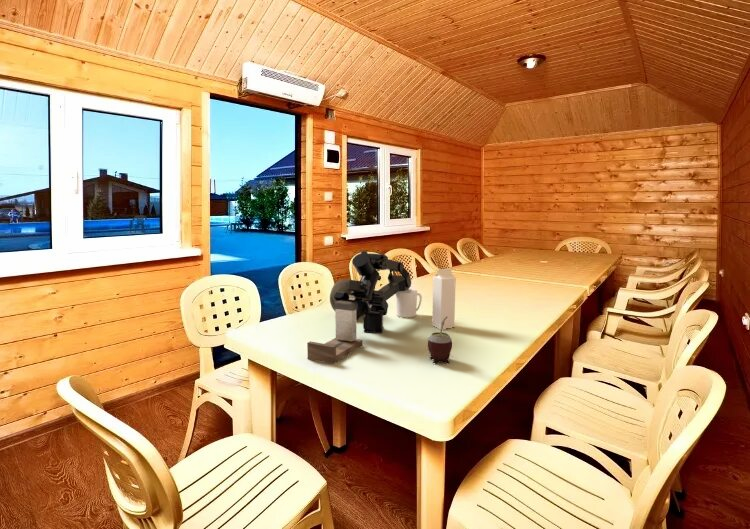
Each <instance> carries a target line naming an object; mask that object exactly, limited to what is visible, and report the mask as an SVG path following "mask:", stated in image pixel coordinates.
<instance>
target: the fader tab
mask: <svg viewBox="0 0 750 529" xmlns="http://www.w3.org/2000/svg"><path fill="white" fill-rule="evenodd" d="M334 309H335V311H334V312H335V314H334V315H335V338H336V339H339V340H345V341H351V342H352V341H354V340H356V339H358V338H357V321H356V310H357V309H358V303H355V302H346V301H337V302H334Z"/></svg>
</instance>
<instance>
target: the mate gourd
mask: <svg viewBox="0 0 750 529" xmlns="http://www.w3.org/2000/svg"><path fill="white" fill-rule="evenodd" d="M446 319H447V317H445V318H444V319H443V321H442V323H441V330H439V331H437V332H433V333H431V334H430V335H429V337H428V339H427V349H428V351H429V354H430V357H429V359H430V358H431V359H430V360H432V359H434V360H433V361H432V364H433V363H437V362H439V361H442V362H441V363H443V362H446V363H449V364H450V361H449V359H450V356H451V352H452V349H453V348H452V347H453V342H452V337H451V336H450V334H449V333H446V332H443V325H444V322H445V320H446ZM439 363H440V362H439ZM446 363H445V364H446ZM437 364H438V363H437Z"/></svg>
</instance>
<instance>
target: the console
mask: <svg viewBox="0 0 750 529" xmlns="http://www.w3.org/2000/svg"><path fill="white" fill-rule="evenodd" d="M363 340H364V339H361V338H357V339H356V340H354V341H352V342H351V341H345V340H339V339H336V337H335V338H333V339H331V340H329V341H327V342H325V343H322V342H316V341H312V340H311V341H309V342H307V359H308V360H311V361H315V362H316V361H318V362H321V363H327V364H331V365H335V364H336V363H337V362H339V361H340V359H341V360H343V359H344V358H345V357H347V356H348V354H349V355H350V354H352V353H353V351H354V352H355V351H357V350H358V349H360V348H361V346H362V347H363V346H364V342H363ZM356 349H357V350H356ZM343 357H344V358H343ZM338 360H339V361H338ZM335 362H336V363H335Z"/></svg>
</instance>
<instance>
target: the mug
mask: <svg viewBox="0 0 750 529" xmlns="http://www.w3.org/2000/svg"><path fill="white" fill-rule="evenodd" d="M418 296H419V297H418ZM418 298H419V301H418ZM422 298H423V297H422V294H421V293H419V292H418V291H417V290H416V289H413V288H412V289H411V288H409V289H408V290H406V291H399V292H397V293H396V294H395V310H396V311H395V312H396V313H395V315H396V317H397V316H398V317H397V318H400V317H402V319H413V318H416V315H417V312H418V311H419V309H420V307H421V304H422V302H423V301H422V300H423V299H422ZM417 301H418V302H417ZM412 317H413V318H412Z"/></svg>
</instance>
